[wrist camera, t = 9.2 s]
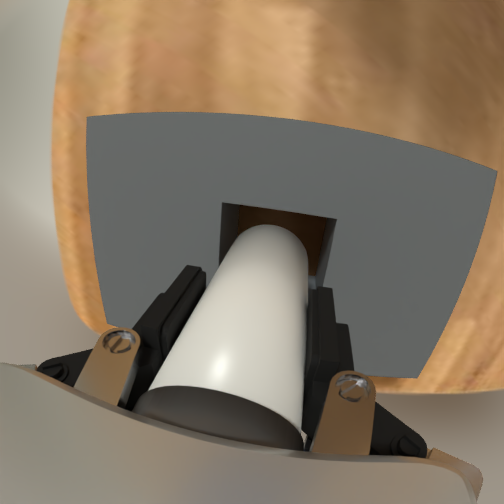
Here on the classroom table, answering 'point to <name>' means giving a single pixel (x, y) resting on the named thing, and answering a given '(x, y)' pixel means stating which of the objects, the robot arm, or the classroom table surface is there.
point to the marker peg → (242, 348)
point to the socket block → (293, 200)
